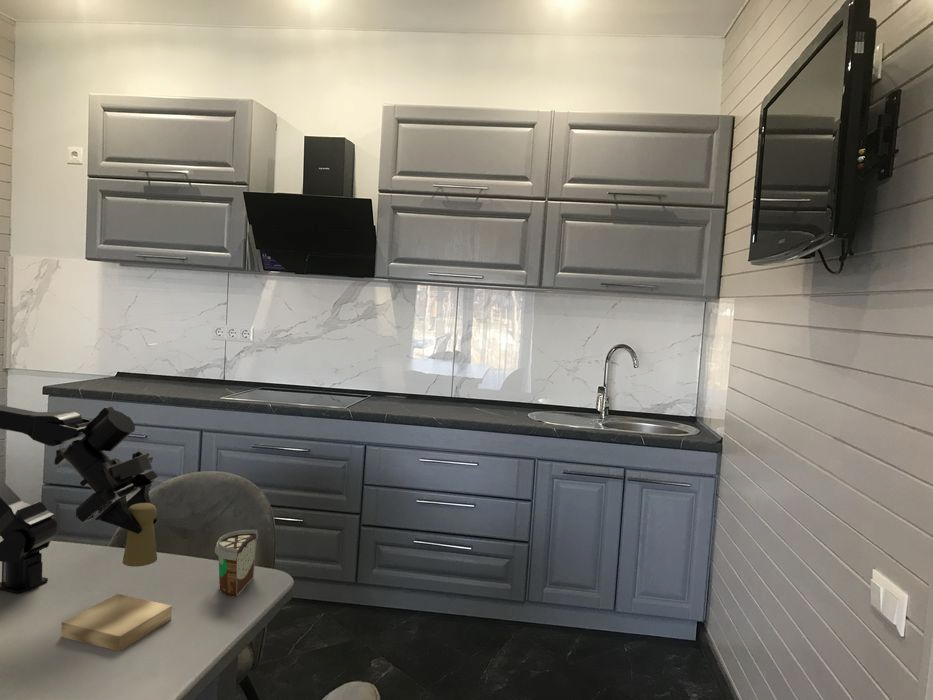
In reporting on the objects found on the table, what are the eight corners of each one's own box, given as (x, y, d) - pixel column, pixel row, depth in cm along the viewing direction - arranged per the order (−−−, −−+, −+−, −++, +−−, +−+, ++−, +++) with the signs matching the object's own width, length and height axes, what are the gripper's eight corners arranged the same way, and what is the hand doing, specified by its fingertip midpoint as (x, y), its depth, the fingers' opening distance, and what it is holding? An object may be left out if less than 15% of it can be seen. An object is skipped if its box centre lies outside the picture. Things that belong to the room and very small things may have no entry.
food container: (227, 572, 140) (229, 526, 139) (256, 574, 139) (258, 529, 139) (202, 597, 127) (204, 547, 127) (233, 600, 127) (235, 550, 126)
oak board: (61, 636, 110) (61, 622, 110) (117, 606, 121) (117, 593, 121) (119, 651, 107) (119, 636, 107) (171, 619, 118) (171, 605, 118)
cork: (140, 568, 122) (142, 511, 121) (115, 563, 124) (116, 506, 123) (164, 557, 128) (166, 502, 127) (139, 552, 130) (141, 498, 129)
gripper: (94, 449, 115) (152, 516, 115) (150, 430, 134) (200, 487, 134) (49, 489, 116) (107, 555, 116) (112, 465, 135) (161, 522, 135)
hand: (148, 527), depth 125 cm, fingers closed on cork, 5 cm apart
